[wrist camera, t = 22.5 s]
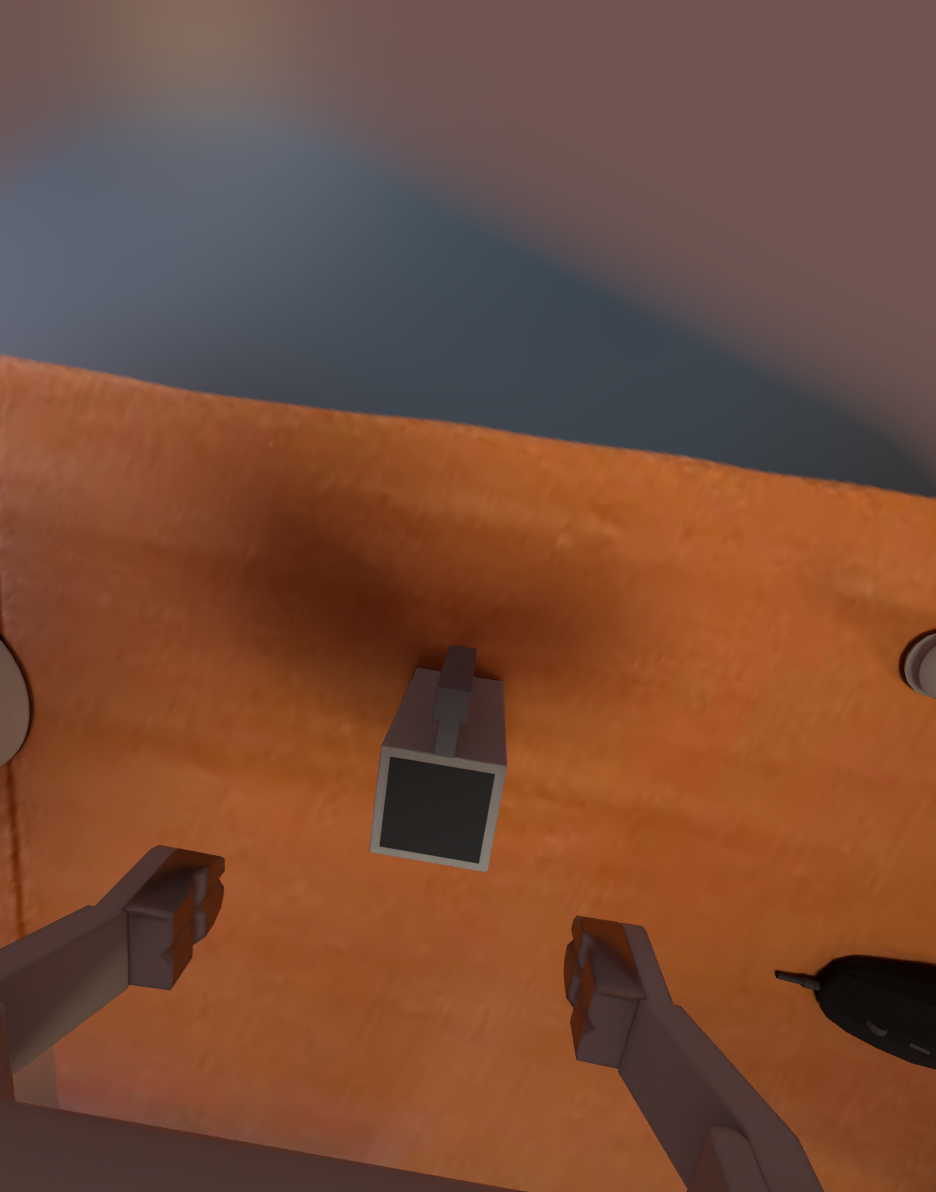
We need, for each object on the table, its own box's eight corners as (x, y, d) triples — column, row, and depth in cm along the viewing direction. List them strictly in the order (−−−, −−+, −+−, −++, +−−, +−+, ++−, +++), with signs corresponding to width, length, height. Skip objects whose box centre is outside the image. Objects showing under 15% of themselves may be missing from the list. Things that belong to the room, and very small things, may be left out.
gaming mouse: (786, 939, 34) (825, 997, 30) (987, 972, 33) (1053, 1035, 29) (763, 1003, 35) (797, 1067, 31) (956, 1036, 34) (1015, 1104, 31)
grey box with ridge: (407, 744, 32) (423, 620, 30) (490, 758, 32) (513, 634, 30) (368, 853, 22) (388, 678, 20) (489, 874, 22) (521, 700, 20)
